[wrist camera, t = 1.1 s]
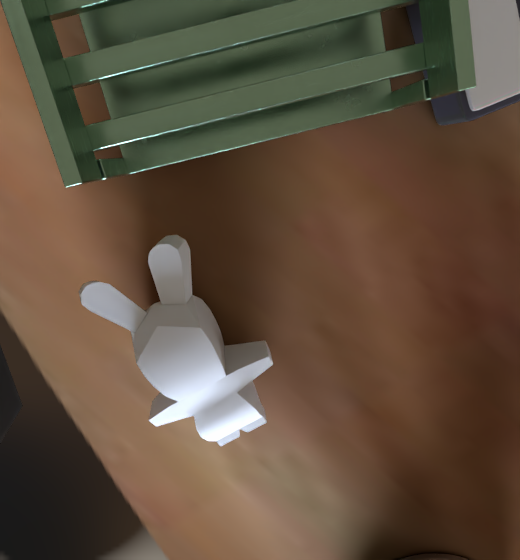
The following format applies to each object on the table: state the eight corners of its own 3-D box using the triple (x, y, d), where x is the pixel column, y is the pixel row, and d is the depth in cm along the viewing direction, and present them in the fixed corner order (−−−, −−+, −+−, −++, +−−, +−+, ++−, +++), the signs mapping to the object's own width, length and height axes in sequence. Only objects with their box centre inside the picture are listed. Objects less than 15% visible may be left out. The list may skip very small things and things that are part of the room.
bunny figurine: (186, 480, 32) (46, 316, 26) (189, 431, 37) (71, 283, 31) (305, 419, 31) (186, 236, 26) (292, 376, 36) (190, 214, 30)
